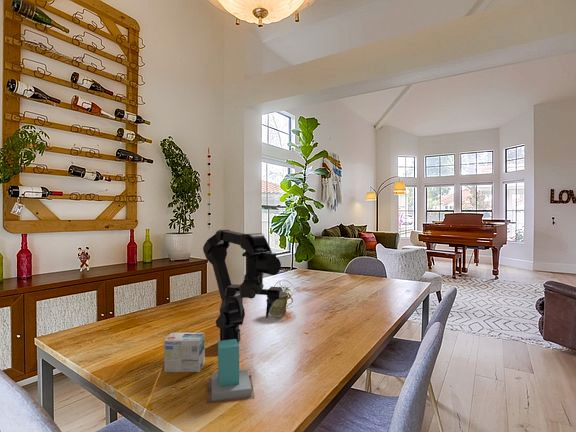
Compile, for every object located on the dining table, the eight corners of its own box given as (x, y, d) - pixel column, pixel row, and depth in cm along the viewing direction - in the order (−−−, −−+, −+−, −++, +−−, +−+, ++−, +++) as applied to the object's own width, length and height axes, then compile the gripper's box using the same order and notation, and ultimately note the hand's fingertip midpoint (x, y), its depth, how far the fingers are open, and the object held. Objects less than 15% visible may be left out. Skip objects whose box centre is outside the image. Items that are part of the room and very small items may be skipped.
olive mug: (262, 316, 151) (262, 294, 151) (273, 310, 160) (273, 290, 160) (287, 321, 145) (287, 298, 145) (297, 315, 154) (297, 293, 154)
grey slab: (211, 380, 92) (211, 373, 92) (247, 376, 94) (247, 369, 94) (211, 400, 82) (211, 393, 82) (251, 396, 85) (251, 388, 85)
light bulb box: (205, 365, 104) (205, 331, 103) (200, 376, 97) (200, 340, 97) (170, 365, 103) (170, 331, 103) (163, 376, 96) (163, 340, 96)
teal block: (218, 377, 90) (217, 341, 90) (236, 374, 91) (236, 338, 91) (220, 386, 85) (219, 348, 85) (239, 383, 87) (239, 345, 87)
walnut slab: (208, 385, 93) (208, 378, 93) (251, 381, 95) (251, 375, 95) (206, 411, 81) (206, 403, 81) (254, 406, 84) (254, 398, 84)
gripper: (218, 274, 105) (218, 322, 105) (275, 276, 101) (274, 327, 101) (231, 267, 115) (231, 312, 116) (283, 270, 111) (283, 316, 112)
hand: (253, 316), depth 111 cm, fingers open, 9 cm apart
